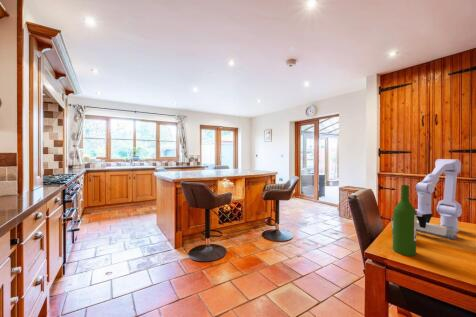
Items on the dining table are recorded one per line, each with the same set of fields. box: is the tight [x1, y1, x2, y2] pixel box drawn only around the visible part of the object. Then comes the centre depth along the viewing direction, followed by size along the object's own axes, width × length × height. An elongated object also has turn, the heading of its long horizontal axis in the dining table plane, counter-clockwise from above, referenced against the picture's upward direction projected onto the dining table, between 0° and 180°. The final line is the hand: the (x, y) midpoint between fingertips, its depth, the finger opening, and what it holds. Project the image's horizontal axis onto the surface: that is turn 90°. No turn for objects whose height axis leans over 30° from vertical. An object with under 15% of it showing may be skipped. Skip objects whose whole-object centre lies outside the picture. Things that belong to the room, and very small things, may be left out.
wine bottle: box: [392, 184, 418, 257], centre depth 101 cm, size 9×9×32 cm
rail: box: [417, 221, 447, 236], centre depth 121 cm, size 4×18×4 cm, turn 32°
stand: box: [417, 219, 458, 241], centre depth 126 cm, size 8×22×6 cm, turn 32°
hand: (424, 226), depth 121 cm, fingers closed on rail, 4 cm apart
